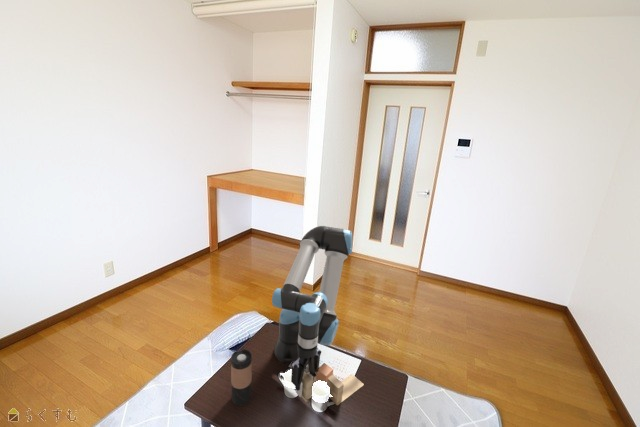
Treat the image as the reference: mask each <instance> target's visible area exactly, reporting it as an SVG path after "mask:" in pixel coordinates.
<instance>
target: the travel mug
mask: <svg viewBox="0 0 640 427" xmlns="http://www.w3.org/2000/svg"><path fill="white" fill-rule="evenodd" d="M252 360H253V359H252V352H251V351H249V350H247V349H241V350H239V351H238V350H236V351H234V352H233V353H232V354H231V357H230V385H231V386H230V387H231V401H232V403H233V404H234V406H237V407H241V406H246V405H247V404H248V403H249V402H250V400H251V397H252V380H253V379H252V378H253V376H252V374H253V373H252V372H253V371H252V370H253V366H252V364H253V363H252Z"/></svg>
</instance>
